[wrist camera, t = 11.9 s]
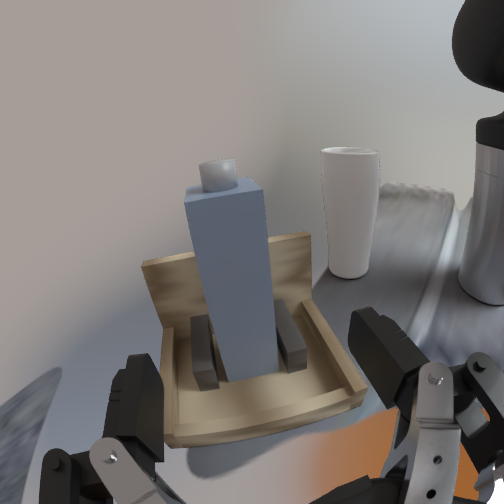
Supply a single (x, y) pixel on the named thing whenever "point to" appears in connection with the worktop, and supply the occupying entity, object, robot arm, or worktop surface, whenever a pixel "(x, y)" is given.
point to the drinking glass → (350, 207)
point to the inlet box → (257, 388)
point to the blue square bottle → (234, 267)
